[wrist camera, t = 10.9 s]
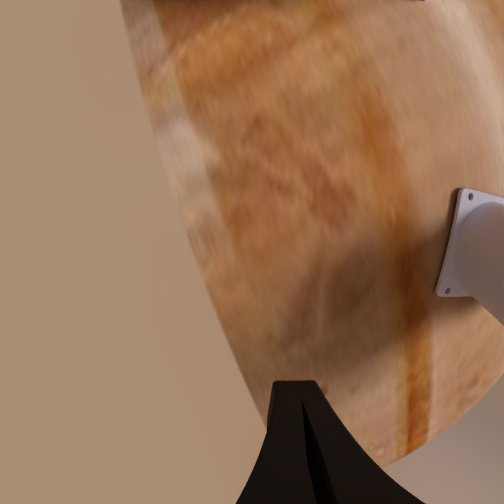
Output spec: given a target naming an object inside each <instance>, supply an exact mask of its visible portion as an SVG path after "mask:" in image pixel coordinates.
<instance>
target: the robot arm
mask: <svg viewBox="0 0 504 504" xmlns="http://www.w3.org/2000/svg"><path fill="white" fill-rule="evenodd" d="M469 194H470V198H469V199H468V196H469ZM447 288H448V289H447ZM446 289H447V291H446ZM445 291H446V292H445ZM435 292H436V294H437V295H438V296H439V297H466V296H472V297H473V298H474V299H475V300H476V301H477V302H479V303H480V304H481V305H482V306H483V307H484V308H485V309H486V310H487V311H489V312H490V313H491V314H492V315H493V316H494V317H495V318H496V319H497V320H498V321H499V322H500V323H501V324H502V325H503V326H504V198H502V197H498V196H495V195H491V194H488V193H484V192H480V191H476V190H473V189H469V188H465V187H462V188H461V189H460V190H459V192H458V197H457V203H456V209H455V214H454V219H453V224H452V229H451V233H450V238H449V242H448V246H447V250H446V254H445V258H444V262H443V266H442V269H441V273H440V276H439V280H438V283H437V286H436V290H435ZM236 504H425V503H424V502H422V501H420V500H419V499H418V498H416V497H415V496H414V495H412V494H411V493H410V492H408V491H407V490H405V489H404V488H403V487H401V486H400V485H399V484H398V483H396V482H395V481H394V480H393V479H392V478H391V477H389V475H387V474H386V473H385V472H384V471H383V470H382V469H381V468H380V467H379V466H378V465H377V464H376V463H375V462H374V461H373V460H372V459H371V458H370V457H369V456H368V454H367V453H366V452H365V451H364V450H363V449H362V447H361V446H360V445H359V444H358V443H357V442H356V440H355V439H354V438H353V437H352V435H351V434H350V433H349V431H348V430H347V429H346V427H345V426H344V424H343V423H342V422H341V420H340V419H339V418H338V416H337V415H336V413H335V412H334V410H333V409H332V407H331V406H330V404H329V402H328V401H327V399H326V398H325V396H324V394H323V393H322V391H321V389H320V388H319V386H318V384H317V383H316V382H315V381H314V380H307V381H275V382H274V383H273V385H272V392H271V398H270V404H269V410H268V416H267V433H266V436H265V439H264V442H263V445H262V448H261V450H260V453H259V456H258V459H257V461H256V464H255V466H254V468H253V471H252V473H251V475H250V477H249V479H248V481H247V483H246V485H245V487H244V489H243V491H242V493H241V495H240V497H239V499H238V500H237V502H236Z"/></svg>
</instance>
